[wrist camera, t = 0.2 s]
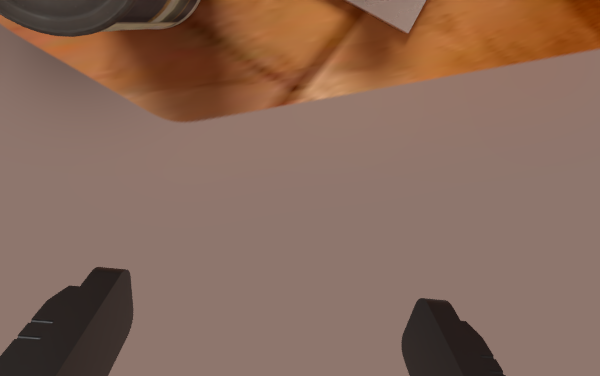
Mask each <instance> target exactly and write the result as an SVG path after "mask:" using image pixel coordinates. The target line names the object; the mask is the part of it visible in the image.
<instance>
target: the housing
mask: <svg viewBox="0 0 600 376" xmlns="http://www.w3.org/2000/svg"><path fill="white" fill-rule="evenodd" d="M344 1H346V2H348V3H349V4H351V5H353V6H355V7H357V8H359V9H360V10H362V11H364V12H366V13H368V14H370V15H372V16H373V17H375V18H377V19H379V20H381V21H383V22H385V23H386V24H388V25H390V26H392V27H394V28H396V29H398V30H399V31H401V32H403V33H409V31H410V29H411V28H412V26H413V24H414V22H415V20H416V18H417V16H418V15H419V13H420V11H421V9H422V7H423V5H424V3H425V2H426V0H344Z"/></svg>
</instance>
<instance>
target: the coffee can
mask: <svg viewBox="0 0 600 376" xmlns="http://www.w3.org/2000/svg"><path fill="white" fill-rule="evenodd" d="M199 2H200V0H0V14H1V15H2V16H4V17H5V18H7V19H9V20H11V21H13V22H15V23H17V24H19V25H21V26H23V27H26V28H28V29H31V30H34V31H37V32H40V33H44V34H49V35H55V36H69V37H75V36H82V35H89V34H93V33H96V32H102V31H119V30H138V29H165V28H170V27H173V26H175V25H178V24H180V23H182V22H183V21H184V20H186V19H187V18H188V17H189V16H190V15H191V14H192V13H193V12H194V10H195V9H196V8H197V6H198V4H199Z"/></svg>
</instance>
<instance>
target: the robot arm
mask: <svg viewBox="0 0 600 376" xmlns="http://www.w3.org/2000/svg"><path fill="white" fill-rule="evenodd" d="M132 320H133V301H132V290H131V278H130V272H129V271H128V270H125V269H114V268H103V267H96V268H95V269H93V270H92V272H91V273H90V274H89V275H88V277H87V278H86V279H85V281H84V282H83V283H82V285H81V286H80V287H79V286H68V287H67V288H65V289H63V290H62V291H60V292H59V293H58V294H56V295H55V296H53V297H52V298H50V299H49V300H47V301H46V303H45V304H44V305H43V306H42V307H41V309H40V310H39V311H38V312H37V313H36V314H35V316H34V317H33V318H32V321H31V323H28V324H27V325H26V326H25V328H24V329H23V330H22V331H21V332H20V333H19V335H18V338H17V339H14V341H13V342H12V343H11V344H10V345H9V346H8V348H7V349H6V350H5V351H4V352H3V354H2V355H1V356H0V376H108V374H109V372H110V370H111V368H112V366H113V364H114V362H115V360H116V358H117V356H118V354H119V352H120V350H121V348H122V346H123V344H124V342H125V340H126V338H127V336H128V334H129V331H130V328H131V324H132ZM402 353H403V357H404V360H405V363H406V366H407V369H408V372H409V375H410V376H505V375H503V371H502V369H501V367H500V366H499V364H498V362H497V361H496V359H494V358H493V354H492V353H491V351H490V349H489V348H488V346H487V344H486V343H485V341H484V340H483V338H482V337H481V336H480V335H479V334H478V333H477V332H476V331H475V330H474V329H473V328H472V327H471V326H470V325H469V324H468V323H467V322H466V321H460V319H459V317H458V316H457V314H456V312H455V310H454V309H453V307H452V305H451V304H450V303H449V302H448V301H446V300H435V299H425V298H421V299H419V300H418V301H417V302H416V304H415V307H414V309H413V311H412V314H411V316H410V319H409V321H408V323H407V326H406V328H405V331H404V333H403V337H402Z"/></svg>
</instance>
